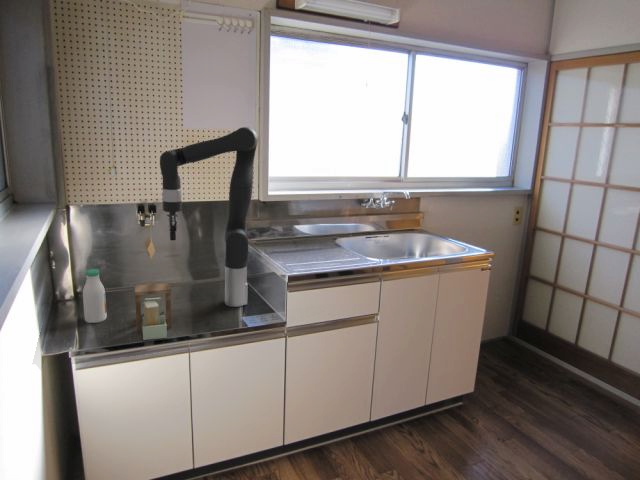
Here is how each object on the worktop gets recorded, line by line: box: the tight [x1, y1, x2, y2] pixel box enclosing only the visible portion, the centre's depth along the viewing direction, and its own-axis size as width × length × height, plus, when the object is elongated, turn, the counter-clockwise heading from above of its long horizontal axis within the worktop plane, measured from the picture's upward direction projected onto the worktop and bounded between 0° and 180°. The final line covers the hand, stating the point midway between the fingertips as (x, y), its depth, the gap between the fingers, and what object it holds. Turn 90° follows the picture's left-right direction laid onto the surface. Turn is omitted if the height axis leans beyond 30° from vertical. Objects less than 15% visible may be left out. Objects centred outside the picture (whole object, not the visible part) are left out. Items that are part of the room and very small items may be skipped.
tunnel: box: [134, 282, 173, 333], centre depth 174 cm, size 12×7×16 cm, turn 111°
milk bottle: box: [82, 268, 108, 324], centre depth 175 cm, size 8×8×20 cm
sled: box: [141, 297, 168, 341], centre depth 174 cm, size 8×21×7 cm, turn 21°
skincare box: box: [143, 300, 159, 326], centre depth 168 cm, size 6×4×12 cm
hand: (172, 239), depth 194 cm, fingers closed
